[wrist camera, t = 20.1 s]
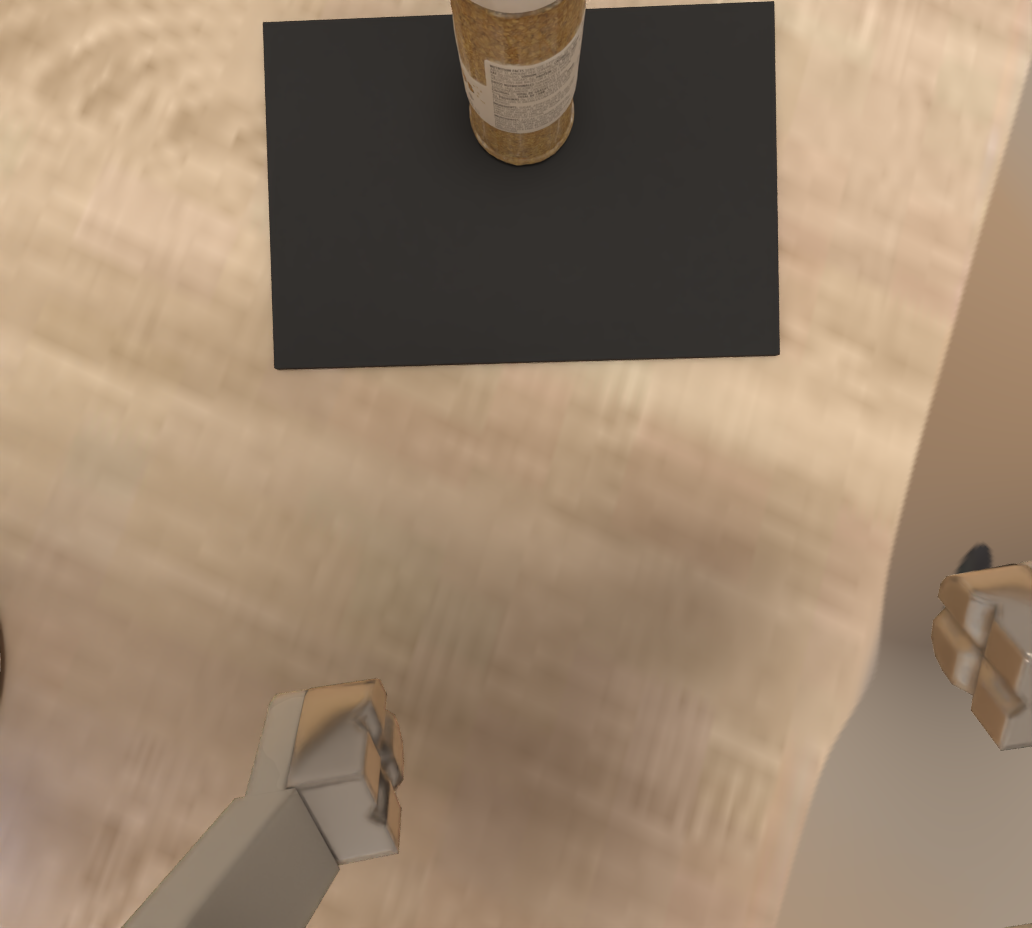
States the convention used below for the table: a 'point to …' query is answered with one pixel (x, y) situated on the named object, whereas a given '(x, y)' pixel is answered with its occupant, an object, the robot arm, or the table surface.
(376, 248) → the desk pad
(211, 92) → the table surface
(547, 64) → the sprinkles bottle
